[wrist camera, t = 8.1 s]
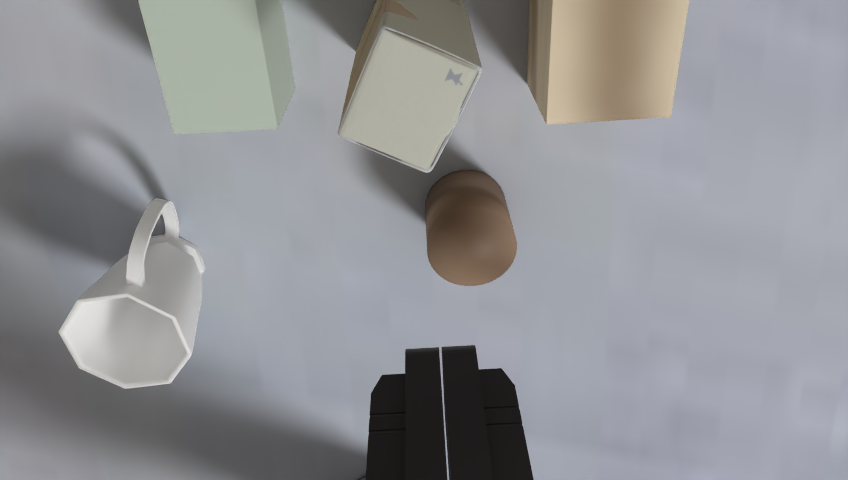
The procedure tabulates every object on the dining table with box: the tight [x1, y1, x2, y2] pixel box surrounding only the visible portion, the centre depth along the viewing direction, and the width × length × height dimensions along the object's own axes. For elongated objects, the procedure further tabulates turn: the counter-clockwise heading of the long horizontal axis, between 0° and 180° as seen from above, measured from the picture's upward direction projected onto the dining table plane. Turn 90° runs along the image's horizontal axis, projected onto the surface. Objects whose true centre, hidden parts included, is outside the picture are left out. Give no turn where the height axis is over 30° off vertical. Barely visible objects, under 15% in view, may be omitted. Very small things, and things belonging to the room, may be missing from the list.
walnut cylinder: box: [425, 170, 517, 286], centre depth 38 cm, size 5×5×5 cm
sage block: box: [138, 0, 295, 134], centre depth 32 cm, size 5×7×6 cm
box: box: [338, 0, 482, 173], centre depth 30 cm, size 5×4×11 cm
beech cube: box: [527, 0, 689, 124], centre depth 32 cm, size 6×6×6 cm
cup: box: [59, 198, 205, 389], centre depth 38 cm, size 7×10×8 cm
